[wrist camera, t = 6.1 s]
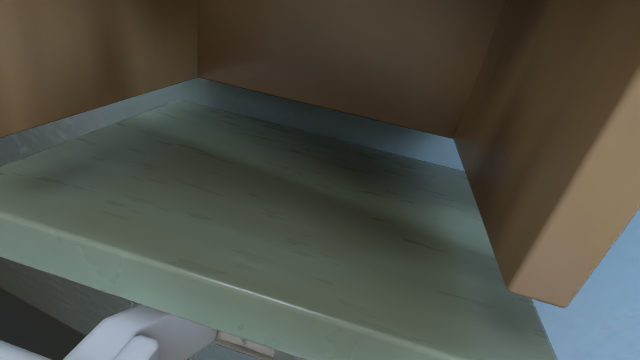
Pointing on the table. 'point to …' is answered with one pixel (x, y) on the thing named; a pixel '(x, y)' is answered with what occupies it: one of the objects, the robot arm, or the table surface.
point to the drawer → (329, 166)
